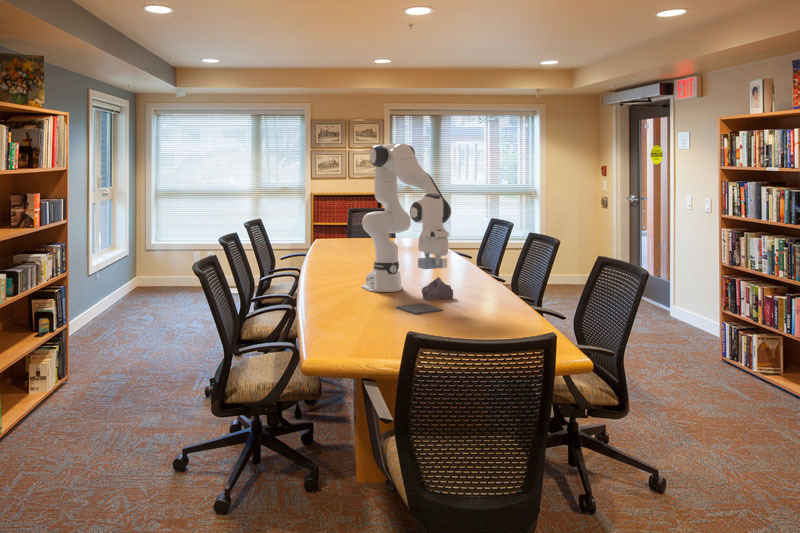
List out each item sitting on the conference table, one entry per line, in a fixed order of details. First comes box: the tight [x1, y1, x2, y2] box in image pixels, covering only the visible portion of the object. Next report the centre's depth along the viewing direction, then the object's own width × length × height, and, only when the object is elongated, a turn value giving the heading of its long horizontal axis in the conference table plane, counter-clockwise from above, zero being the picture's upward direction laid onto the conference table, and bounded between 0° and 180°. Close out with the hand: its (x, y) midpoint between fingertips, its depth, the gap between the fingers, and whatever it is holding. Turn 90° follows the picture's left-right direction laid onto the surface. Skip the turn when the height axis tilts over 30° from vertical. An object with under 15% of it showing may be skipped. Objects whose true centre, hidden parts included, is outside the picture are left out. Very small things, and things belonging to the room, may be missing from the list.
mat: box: [395, 302, 443, 315], centre depth 292 cm, size 15×14×1 cm
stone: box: [421, 276, 454, 301], centre depth 315 cm, size 10×6×15 cm
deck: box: [417, 256, 448, 270], centre depth 295 cm, size 11×6×4 cm, turn 116°
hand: (432, 263), depth 295 cm, fingers closed on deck, 6 cm apart
